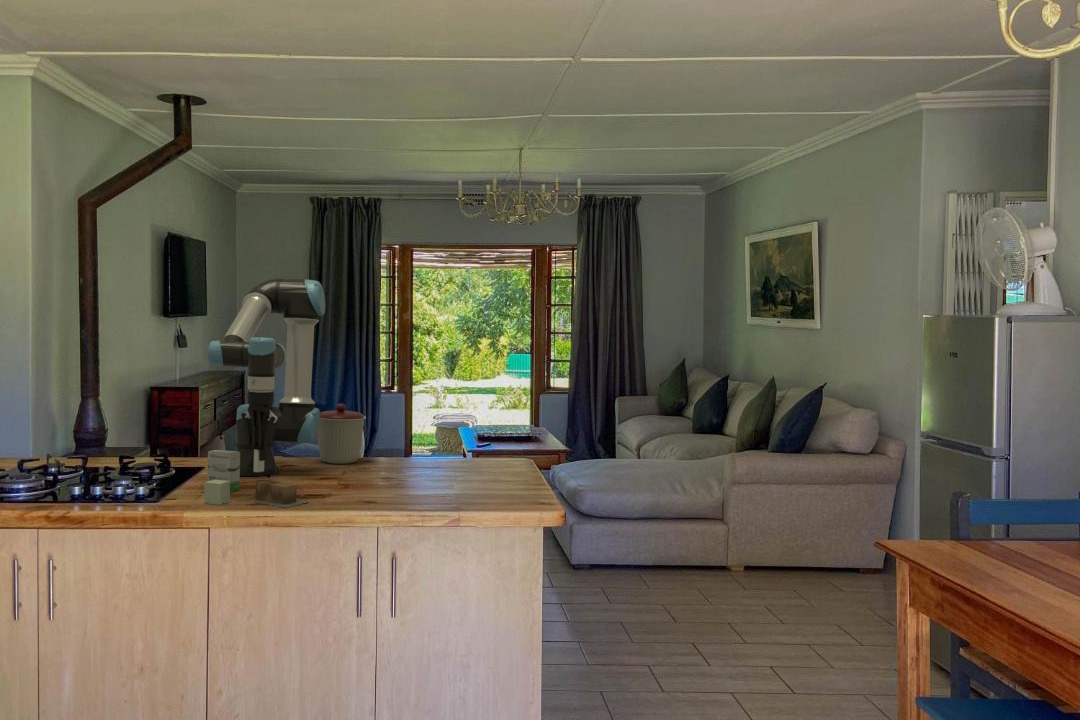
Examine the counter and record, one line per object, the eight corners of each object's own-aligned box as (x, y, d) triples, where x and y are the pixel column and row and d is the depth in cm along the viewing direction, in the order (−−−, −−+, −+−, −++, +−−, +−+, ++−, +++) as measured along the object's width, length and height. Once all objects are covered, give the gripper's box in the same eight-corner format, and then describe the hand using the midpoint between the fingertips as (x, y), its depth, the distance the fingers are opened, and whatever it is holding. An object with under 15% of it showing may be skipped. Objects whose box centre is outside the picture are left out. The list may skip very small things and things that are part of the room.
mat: (253, 502, 294) (253, 501, 294) (277, 497, 303) (277, 496, 303) (284, 508, 289) (284, 507, 289) (308, 502, 297) (308, 501, 297)
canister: (339, 468, 356) (341, 407, 355) (302, 461, 366) (304, 402, 365) (375, 462, 371) (377, 404, 370) (338, 456, 381) (340, 399, 380)
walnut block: (255, 482, 297) (284, 487, 292) (268, 480, 301) (296, 484, 296) (255, 499, 297) (284, 504, 292) (267, 496, 302) (296, 501, 296)
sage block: (204, 503, 291) (204, 482, 291) (213, 500, 296) (214, 479, 296) (220, 505, 290) (220, 483, 290) (229, 501, 295) (229, 481, 294)
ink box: (240, 489, 312) (241, 451, 311) (230, 492, 307) (231, 453, 307) (216, 486, 315) (217, 448, 314) (206, 489, 310) (207, 450, 309)
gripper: (234, 389, 298) (232, 470, 299) (268, 393, 291) (266, 475, 293) (253, 388, 304) (251, 467, 306) (286, 391, 298) (284, 472, 299)
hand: (258, 471), depth 299 cm, fingers closed
